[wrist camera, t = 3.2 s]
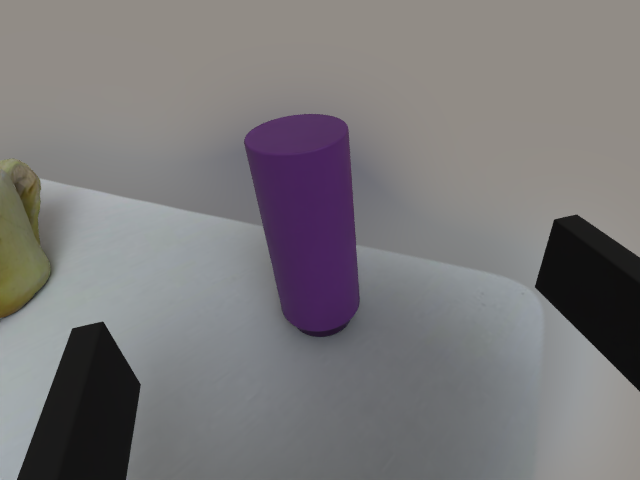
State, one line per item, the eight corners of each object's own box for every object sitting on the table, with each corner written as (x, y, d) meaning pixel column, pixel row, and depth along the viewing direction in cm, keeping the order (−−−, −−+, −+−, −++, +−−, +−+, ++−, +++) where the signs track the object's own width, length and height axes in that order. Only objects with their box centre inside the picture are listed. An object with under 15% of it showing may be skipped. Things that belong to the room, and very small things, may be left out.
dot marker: (376, 311, 23) (370, 125, 17) (320, 358, 21) (288, 164, 15) (324, 278, 26) (301, 107, 20) (269, 316, 24) (223, 138, 17)
